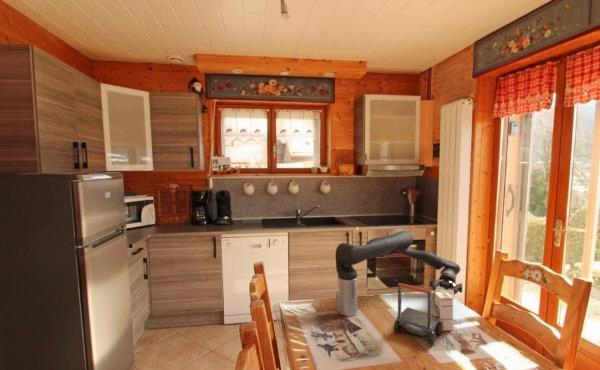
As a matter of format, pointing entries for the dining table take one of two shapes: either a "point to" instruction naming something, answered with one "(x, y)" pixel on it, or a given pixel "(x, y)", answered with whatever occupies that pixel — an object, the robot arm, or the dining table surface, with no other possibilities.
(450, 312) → the syrup box
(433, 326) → the trolley
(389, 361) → the dining table surface
